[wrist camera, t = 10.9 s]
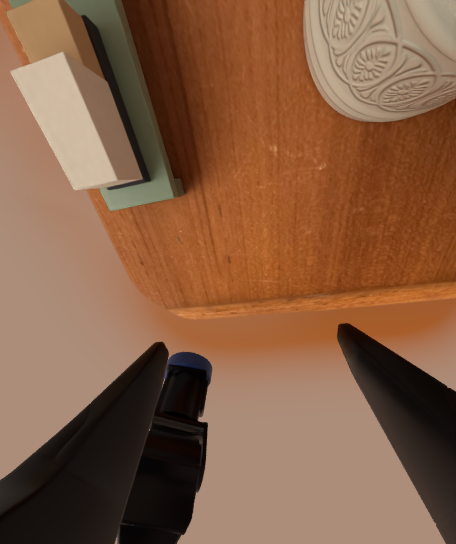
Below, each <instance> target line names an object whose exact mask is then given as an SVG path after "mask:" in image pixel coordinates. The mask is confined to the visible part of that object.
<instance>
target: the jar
mask: <svg viewBox="0 0 456 544" xmlns="http://www.w3.org/2000/svg"><path fill="white" fill-rule="evenodd" d="M303 35H304V46H305V52H306V58H307V62H308V66H309V70H310V73H311V76H312V78H313V81H314V83H315V85H316V87H317V89H318V90H319V92H320V94H321V95H322V97H323V98H324V99H325V101H326V102H327V103H328V104H329V105H330V106H331V107H332V108H333V109H335V110H336V111H337V112H339V113H340V114H342V115H344V116H346V117H348V118H351V119H354V120H358V121H365V122H389V121H397V120H402V119H406V118H409V117H413V116H415V115H419V114H422V113H425V112H428V111H430V110H433V109H435V108H437V107H440V106H442V105H444V104H446V103H448V102H450V101H452V100H453V99H455V98H456V0H304V10H303Z"/></svg>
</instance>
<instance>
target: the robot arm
mask: <svg viewBox="0 0 456 544" xmlns="http://www.w3.org/2000/svg"><path fill="white" fill-rule="evenodd" d="M337 338H338V342H339V344H340V347H341V349H342V351H343V354H344V356H345V358H346V361H347V363H348V365H349V368H350V370H351V372H352V374H353V376H354V378H355V380H356V382H357V383H358V385H359V387H360V389H361V391H362V392H363V394H364V396H365V398H366V400H367V402H368V403H369V405H370V407H371V409H372V411H373V412H374V414H375V416H376V418H377V420H378V421H379V423H380V425H381V427H382V429H383V430H384V432H385V434H386V436H387V438H388V439H389V441H390V443H391V445H392V447H393V448H394V450H395V452H396V454H397V456H398V457H399V459H400V461H401V463H402V465H403V467H404V468H405V470H406V472H407V474H408V476H409V477H410V479H411V481H412V483H413V485H414V486H415V488H416V490H417V492H418V494H419V495H420V497H421V499H422V500H423V503H424V504H425V506H426V508H427V510H428V512H429V513H430V515H431V517H432V519H433V521H434V522H435V523H436V526H437V528H438V530H439V532H440V534H441V535H442V537H443V539H444V541H445V543H446V544H456V391H454V390H452V389H451V388H447V386H446V385H445V384H443V383H441V382H440V381H438V380H437V379H435V378H434V377H432V376H430V375H429V374H427V373H426V372H424V371H422V370H421V369H420V368H418V367H416V366H415V365H413V364H412V363H410V362H409V361H407V360H405V359H404V358H402V357H401V356H399V355H397V354H396V353H394V352H393V351H391V350H390V349H388V348H387V347H385V346H383V345H382V344H380V343H379V342H377V341H376V340H374V339H372V338H371V337H369V336H368V335H366V334H365V333H363V332H362V331H360V330H358V329H357V328H355V327H354V326H352V325H351V324H348V323H345V324H339V325H338V333H337ZM168 356H169V353H168V350H167V348H166V346H165V344H164V343H163V342H156V343H154V344H153V345H152V346H151V347H150V348H149V349H148V350H147V351H145V353H143V354H142V355H141V356H140V357H139V358H138V359H137V360H136V361H135V362H134V363H133V364H132V365H130V366H129V367H128V368H127V369H126V370H125V371H124V372H123V373H122V374H121V375H120V376H119V377H118V378H117V379H116V380H115V381H113V382H112V383H111V384H110V385H109V386H108V387H107V388H106V389H105V390H104V391H103V392H102V393H101V394H100V395H98V397H97V398H95V399H94V400H93V401H92V402H91V404H89V405H88V406H87V407H86V408H85V409H84V410H83V411H81V412H80V413H79V414H78V415H77V416H76V417H75V418H74V419H73V420H72V421H70V422H69V423H68V424H67V425H66V426H65V427H64V428H63V429H62V430H60V431H59V432H58V433H57V434H56V435H55V436H53V437H52V438H51V439H50V440H49V441H48V442H46V443H45V444H44V445H43V446H42V447H41V448H39V449H38V450H37V451H36V452H35V453H33V454H32V455H31V456H30V457H29V458H28V459H26V460H25V461H24V462H23V463H22V464H20V466H18V467H17V468H16V469H15V470H13V471H12V472H11V473H10V474H8V475H7V476H6V477H4V478H3V479H1V480H0V544H115V541H116V538H117V544H177V542H178V540H179V538H180V536H181V535H184V534H185V532H186V530H187V528H188V526H189V524H190V522H191V519H192V514H193V507H194V500H195V495H196V492H197V493H198V491H199V489H200V486H201V483H202V480H203V475H204V470H205V462H206V445H207V428H208V423H206V422H204V423H203V422H199V421H198V418H199V417H202V416H203V413H204V406H205V400H206V394H207V388H208V380H206V376H207V371H206V370H204V369H197V368H191V367H184V366H178V365H172V364H169V365H168V366H167V361H168ZM166 366H167V376H166V379H165V381H164V376H165V371H166ZM163 381H164V384H163ZM162 385H163V387H162ZM149 429H150V431H149Z"/></svg>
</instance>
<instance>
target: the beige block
mask: <svg viewBox="0 0 456 544" xmlns="http://www.w3.org/2000/svg"><path fill="white" fill-rule="evenodd" d="M6 14H7V16H8V18H9V20H10V22H11V24H12V26H13V28H14V30H15V32H16V34H17V36H18V38H19V40H20V42H21V44H22V46H23V48H24V50H25V52H26V54H27V56H28V58H29V60H30V62H31V64H28V65H26V66H23V67H20V68H18V69H15V70H12V71H11V74H12V76H13V78H14V80H15V81H16V83H17V85H18V87H19V89H20V91H21V92H22V94H23V96H24V98H25V100H26V102H27V103H28V105H29V107H30V109H31V111H32V113H33V115H34V117H35V118H36V120H37V122H38V124H39V126H40V127H41V129H42V131H43V133H44V135H45V137H46V139H47V140H48V142H49V144H50V146H51V148H52V150H53V151H54V153H55V155H56V157H57V159H58V160H59V162H60V164H61V166H62V168H63V170H64V172H65V174H66V176H67V177H68V179H69V181H70V182H71V185H72V187H73V188H74V190H84V189H94V188H105V187H106V188H107V190H115V189H120V188H124V187H129V186H133V185H138V184H142V183H147V182H151V179H150V176H149V173H148V170H147V167H146V165H145V162H144V159H143V156H142V153H141V150H140V147H139V145H138V142H137V139H136V136H135V133H134V130H133V127H132V124H131V122H130V119H129V116H128V113H127V110H126V107H125V104H124V102H123V99H122V96H121V93H120V90H119V87H118V84H117V81H116V79H115V76H114V73H113V70H112V67H111V64H110V61H109V59H108V56H107V53H106V50H105V47H104V44H103V41H102V38H101V36H100V33H99V30H98V28H97V26H96V25H95V24H94V23H93V22H92V21H91V20H90V19H89V18H88V17H87V16H86V15H82V16H80V15H79V14H78V13H77V12H76V11H75V10H74V9H73V8H72V7H71V6H70V5H69V4H67V3H66V2H65V1H64V0H32V1H30V2H28V3H25V4H23V5H21V6H18V7H16V8H14V9H12V10H9V11H7V12H6Z"/></svg>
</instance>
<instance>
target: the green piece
mask: <svg viewBox="0 0 456 544" xmlns="http://www.w3.org/2000/svg"><path fill="white" fill-rule="evenodd" d="M30 1H32V0H9V2H10V4H11V7H12V9H14V8H16V7H18V6H21V5H23V4H25V3H28V2H30ZM64 1H65V2H66V3H67V4H69V5H70V6H71V7H72V8H73V9H74V10H75V11H76V12H77V13H78V14H79V15H80V16H82V15H86V16H87V17H88V18H89V19H90V20H91V21H92V22H93V23H94V24H95V25H96V26H97V28H98V30H99V33H100V36H101V38H102V41H103V44H104V47H105V50H106V53H107V56H108V59H109V61H110V64H111V67H112V70H113V73H114V76H115V79H116V81H117V84H118V87H119V90H120V93H121V96H122V99H123V102H124V104H125V107H126V110H127V113H128V116H129V119H130V122H131V124H132V127H133V130H134V133H135V136H136V139H137V142H138V145H139V147H140V150H141V153H142V156H143V159H144V162H145V165H146V167H147V170H148V173H149V176H150V179H151V182H147V183H142V184H138V185H133V186H129V187H124V188H120V189H115V190H107V188H106V187H105V188H99V190H100V192H101V194H102V196H103V198H104V200H105V202H106V204H107V206H108V208H109V210H110V211H114V210H119V209H124V208H129V207H134V206H139V205H144V204H148V203H153V202H158V201H163V200H168V199H173V198H176V197H179V196H182V195H185V192H184V189H183V185H182V182H181V179H180V178H178V179H174V177H173V174H172V171H171V167H170V164H169V160H168V157H167V154H166V150H165V147H164V143H163V140H162V136H161V133H160V130H159V126H158V123H157V119H156V116H155V113H154V109H153V106H152V102H151V99H150V95H149V92H148V89H147V85H146V82H145V78H144V75H143V72H142V68H141V65H140V61H139V58H138V54H137V51H136V48H135V44H134V41H133V37H132V34H131V31H130V27H129V24H128V20H127V17H126V13H125V10H124V7H123V3H122V0H64Z"/></svg>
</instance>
